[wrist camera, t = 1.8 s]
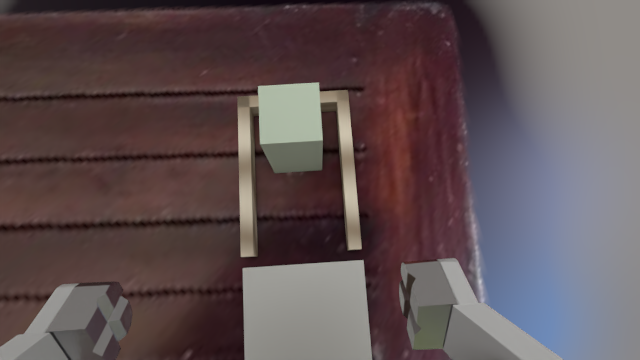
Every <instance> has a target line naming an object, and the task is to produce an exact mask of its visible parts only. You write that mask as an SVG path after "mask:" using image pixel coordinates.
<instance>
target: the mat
mask: <svg viewBox="0 0 640 360" xmlns="http://www.w3.org/2000/svg"><path fill="white" fill-rule="evenodd" d="M243 305H244V352H245V360H372V352H371V341H370V330H369V318H368V307H367V295H366V284H365V272H364V261H363V260H356V261H341V262H326V263H311V264H296V265H281V266H266V267H251V268H243Z"/></svg>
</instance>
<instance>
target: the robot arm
mask: <svg viewBox="0 0 640 360" xmlns="http://www.w3.org/2000/svg"><path fill="white" fill-rule="evenodd" d="M401 274H402V278H403V280H402V281H401V282H400V285H399V296H400V304H401V309H402V313H403V315H404V316H405V317H406V318H407V319H408V323H407V331H408V334H409V338H410V341H411V345H412V349H413V350H421V349H443V350H444V351H445V352H446V353H447V354H448V356H449V357H450V358H451V359H452V360H563V359H562V358H560V357H559V356H558V355H556V354H555V353H553V352H552V351H551V350H549V349H548V348H546V347H545V346H543V345H542V344H541V343H539V342H538V341H537V340H535V339H534V338H532V337H531V336H530V335H528V334H527V333H525V332H524V331H522V330H521V329H520V328H518V327H517V326H515V325H514V324H513V323H511V322H510V321H509V320H507V319H506V318H504V317H503V316H501V315H500V314H499V313H497V312H496V311H495V310H493V309H492V308H491V307H489V306H488V305H486V304H485V303H478V301H477V299H476V297H475V295H474V293H473V291H472V289H471V287H470V285H469V283H468V281H467V279H466V277H465V275H464V273H463V271H462V269H461V267H460V265H459V263H458V261H457V260H456V259H455V258H449V259H437V260H436V259H435V260H422V261H409V262H402V265H401ZM122 292H123V289H122V287H121V285H120V283H119V282H94V283H78V284H62V285H61V286H59V287H57V288H56V289H55V291H54V292H53V294H52V295H51V297H50V298H49V299H48V301H47V302H46V304H45V305H44V306H43V308H42V309H41V311H40V312H39V313H38V315H37V316H36V318H35V319H34V321H33V322H32V323H31V325H30V326H29V328H28V329H27V330H26V332H25V333H24V334H20V335H17V336H15V337H14V338H13V339H11V340H10V341H8V342H7V343H5V344H4V345H2V346H1V347H0V360H116V358H117V356H118V353H119V351H120V349H121V348H120V345H119V342H118V341H120V340H121V339H122V338H123V337H124V336H125V335H126V334H127V333H128V331H129V328H130V326H131V320H132V309H131V305H130V303H129V301H128V300H126V299H125V298H123V297H122V296H121V294H122Z"/></svg>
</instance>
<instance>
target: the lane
mask: <svg viewBox="0 0 640 360" xmlns="http://www.w3.org/2000/svg"><path fill="white" fill-rule="evenodd" d="M319 93H320V107H321V112H330V111H336V116H337V128H338V141H339V154H340V166H341V179H342V192H343V204H344V217H345V229H346V242H347V250H360V249H362V246H361V235H360V224H359V212H358V201H357V189H356V178H355V166H354V155H353V143H352V132H351V120H350V109H349V97H348V90H342V91H325V92H319ZM254 116H259V97H258V96H242V97H238V143H239V192H240V242H241V257H256V256H258V244H257V210H256V177H255V143H254Z"/></svg>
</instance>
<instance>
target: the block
mask: <svg viewBox="0 0 640 360" xmlns="http://www.w3.org/2000/svg"><path fill="white" fill-rule="evenodd" d="M258 97H259V127H260V145H261V147H262V149H263V151H264V153H265V155H266V157H267V159H268V161H269V163H270V165H271V167H272V169H273V171H274V173H286V172H302V171H317V170H322V154H323V136H322V122H321V107H320V93H319V83H304V84H287V85H271V86H258Z"/></svg>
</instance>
